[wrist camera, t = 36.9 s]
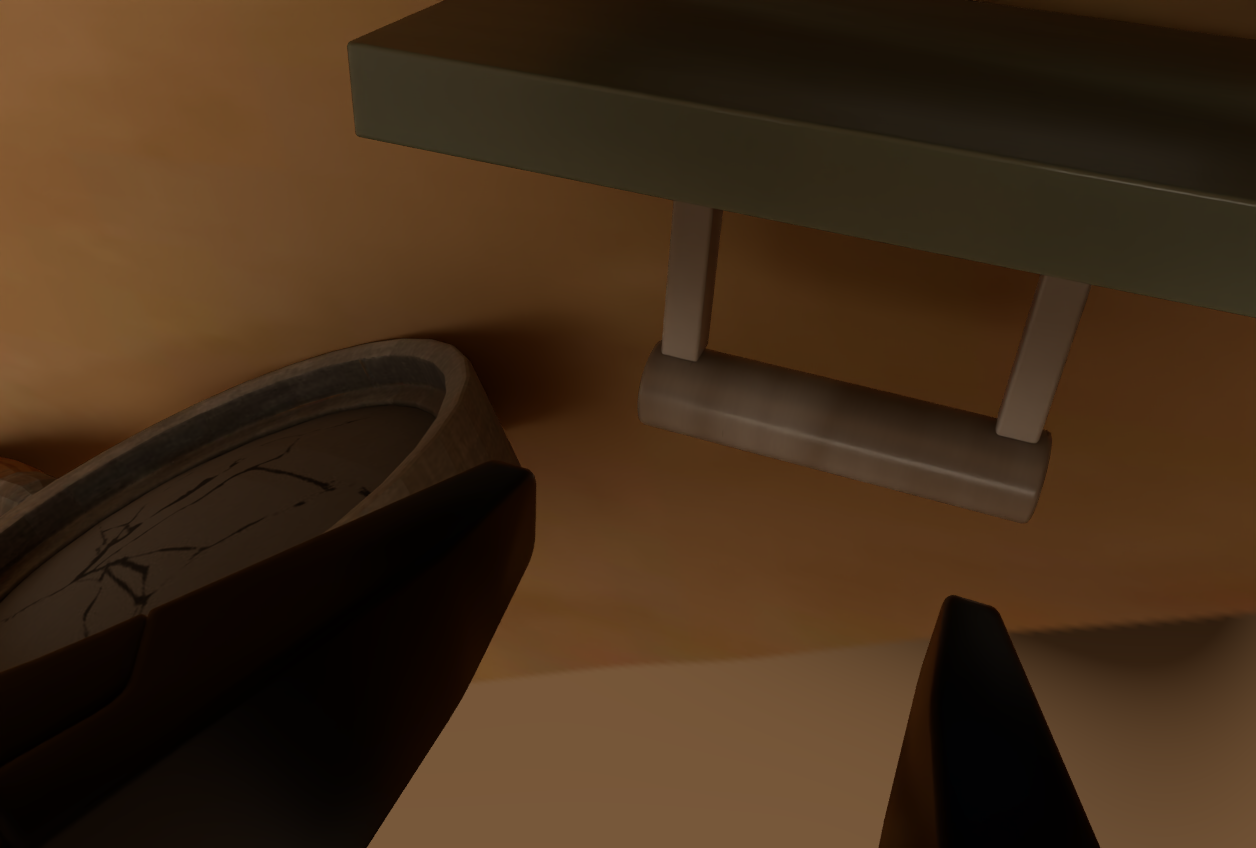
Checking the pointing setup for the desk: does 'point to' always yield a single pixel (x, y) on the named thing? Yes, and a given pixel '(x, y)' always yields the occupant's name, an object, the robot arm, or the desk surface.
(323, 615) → the robot arm
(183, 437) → the magnifying glass
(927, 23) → the drawer
